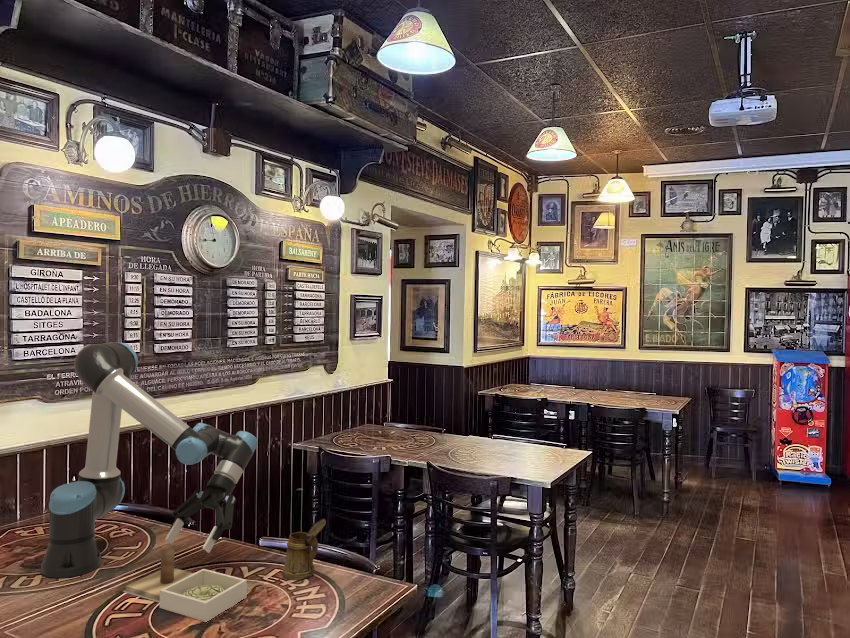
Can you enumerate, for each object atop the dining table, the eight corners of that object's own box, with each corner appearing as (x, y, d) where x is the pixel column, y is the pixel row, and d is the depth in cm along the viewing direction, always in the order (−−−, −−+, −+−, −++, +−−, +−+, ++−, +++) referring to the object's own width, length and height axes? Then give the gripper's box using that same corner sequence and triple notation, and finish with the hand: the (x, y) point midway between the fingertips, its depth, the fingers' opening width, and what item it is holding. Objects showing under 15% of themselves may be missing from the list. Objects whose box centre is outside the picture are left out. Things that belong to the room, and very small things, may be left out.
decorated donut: (232, 606, 162) (232, 592, 162) (191, 619, 155) (191, 604, 155) (215, 592, 170) (216, 578, 170) (175, 603, 163) (176, 589, 163)
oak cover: (125, 590, 167) (126, 551, 167) (167, 570, 181) (168, 533, 181) (165, 602, 162) (166, 561, 161) (206, 580, 175) (207, 543, 175)
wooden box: (159, 610, 159) (159, 590, 159) (202, 586, 172) (203, 568, 172) (205, 623, 153) (205, 603, 153) (246, 598, 166) (246, 579, 166)
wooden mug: (311, 587, 174) (312, 522, 174) (275, 574, 181) (277, 513, 181) (332, 576, 182) (334, 514, 181) (297, 564, 189) (299, 505, 189)
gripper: (264, 491, 186) (228, 560, 173) (198, 480, 196) (160, 544, 183) (252, 478, 181) (215, 547, 168) (186, 467, 191) (146, 532, 178)
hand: (186, 546), depth 175 cm, fingers open, 13 cm apart
